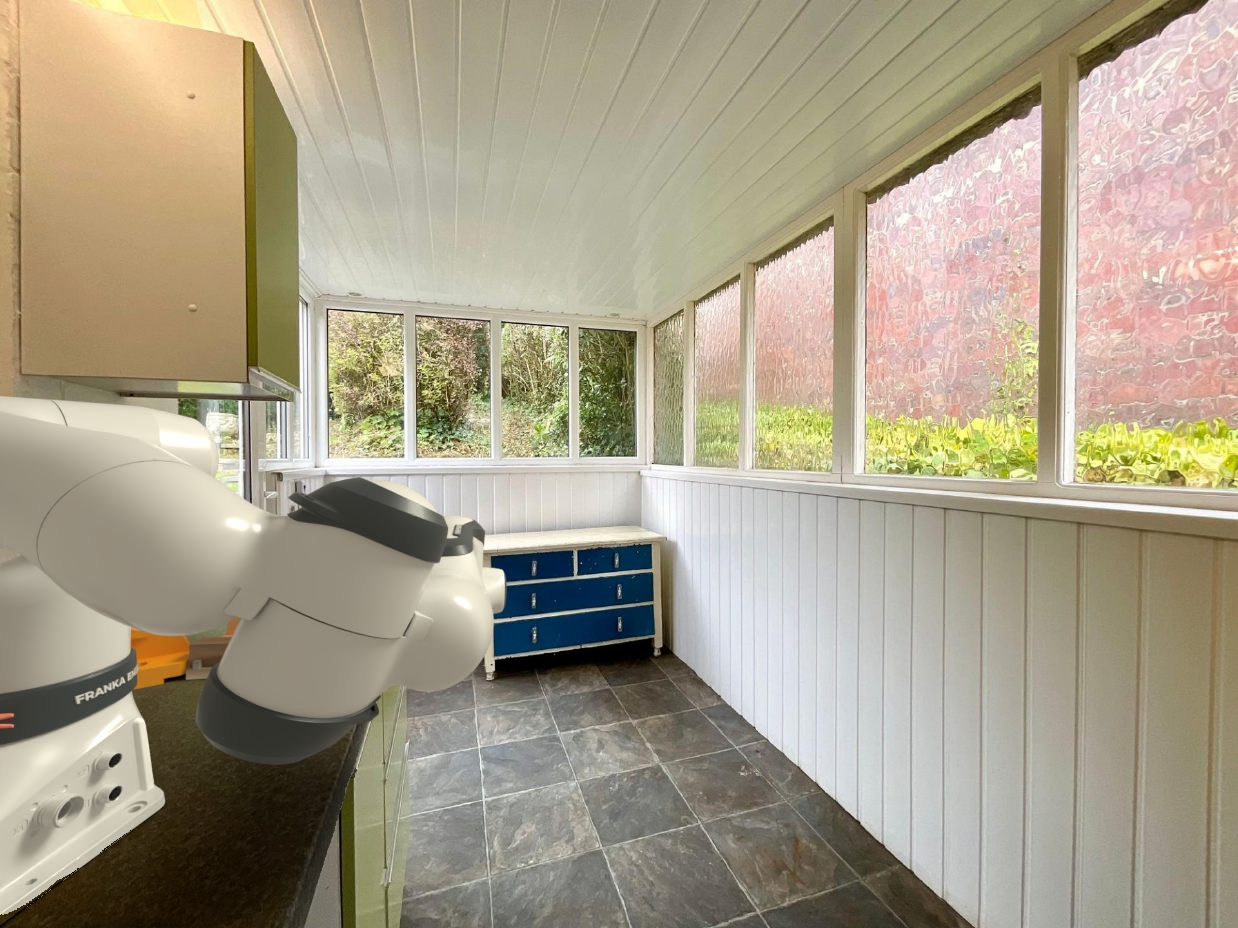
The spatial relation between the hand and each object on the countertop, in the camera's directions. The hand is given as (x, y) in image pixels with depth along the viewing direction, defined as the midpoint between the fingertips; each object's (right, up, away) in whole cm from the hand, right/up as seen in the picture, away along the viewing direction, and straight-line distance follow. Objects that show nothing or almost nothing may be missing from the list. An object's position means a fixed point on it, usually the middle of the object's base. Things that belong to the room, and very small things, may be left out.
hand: (326, 596), depth 82 cm
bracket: (-22, -10, -10) cm, 26 cm away
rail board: (-13, -10, +4) cm, 17 cm away
